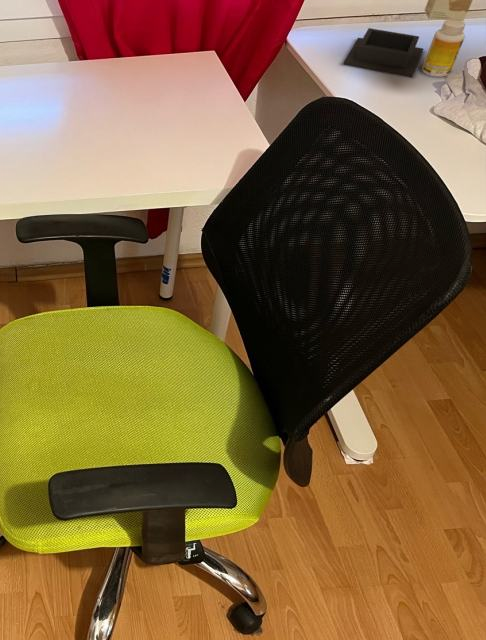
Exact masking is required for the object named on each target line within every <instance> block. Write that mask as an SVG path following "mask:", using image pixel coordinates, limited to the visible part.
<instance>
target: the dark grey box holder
mask: <svg viewBox="0 0 486 640" xmlns="http://www.w3.org/2000/svg"><path fill="white" fill-rule="evenodd" d="M419 38H420V36H419V35H413V34H408V33H401V32H396V31H395V32H394V31H389V30H383V29H378V28H377V29H375V28H370V27H368V28H367V30H366V32H365V34H364V35H363V37H357V38H356V40H355V42H354V44H353V46H352V47H351V49H350V51H349V52H348V54H347V56H346V58H345V59H344V61H343V66H348V67H354V68H358V69H366V70H369V71H375V72H379V73H386V74H392V75H397V76H402V77H407V78H413V76H414V73H415V71H416V69H417V66H418V64H419V62H420V59H421V57H422V54H423V52H424V50H425V48H422V47H417V45H418V42H419Z"/></svg>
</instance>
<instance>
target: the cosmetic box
mask: <svg viewBox="0 0 486 640" xmlns="http://www.w3.org/2000/svg"><path fill="white" fill-rule="evenodd" d="M472 3H473V0H427V2H426V5H425V8H424V12H425V15H426V16H427V19H429V20H444V21H446V20H457V21H463V22H464V21H465V19H466V16H467V15H468V12H469V10H470V7H471V5H472Z"/></svg>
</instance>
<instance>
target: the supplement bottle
mask: <svg viewBox="0 0 486 640" xmlns="http://www.w3.org/2000/svg"><path fill="white" fill-rule="evenodd" d="M465 27H466V23H465V22H464V21H457V20H444V22H443V24H442V26H441V27H440V28H439V29H438V30H436V31H435V33H434V35H433V37H432V40H431V43H430V46H429V48H428V50H427V52H426V56H425V58H424V60H423V64H422V66H421V71H422V72H423V74H425V75H428V76H431V77H436V78H442V77H446V76H448V75H449V74H450V73H451V72H452V70H453V66H454V64H455V62H456V59H457V57H458V55H459V52H460V50H461V47H462V45H463V43H464V40H465V37H466V35H465V33H464V30H465Z"/></svg>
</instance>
